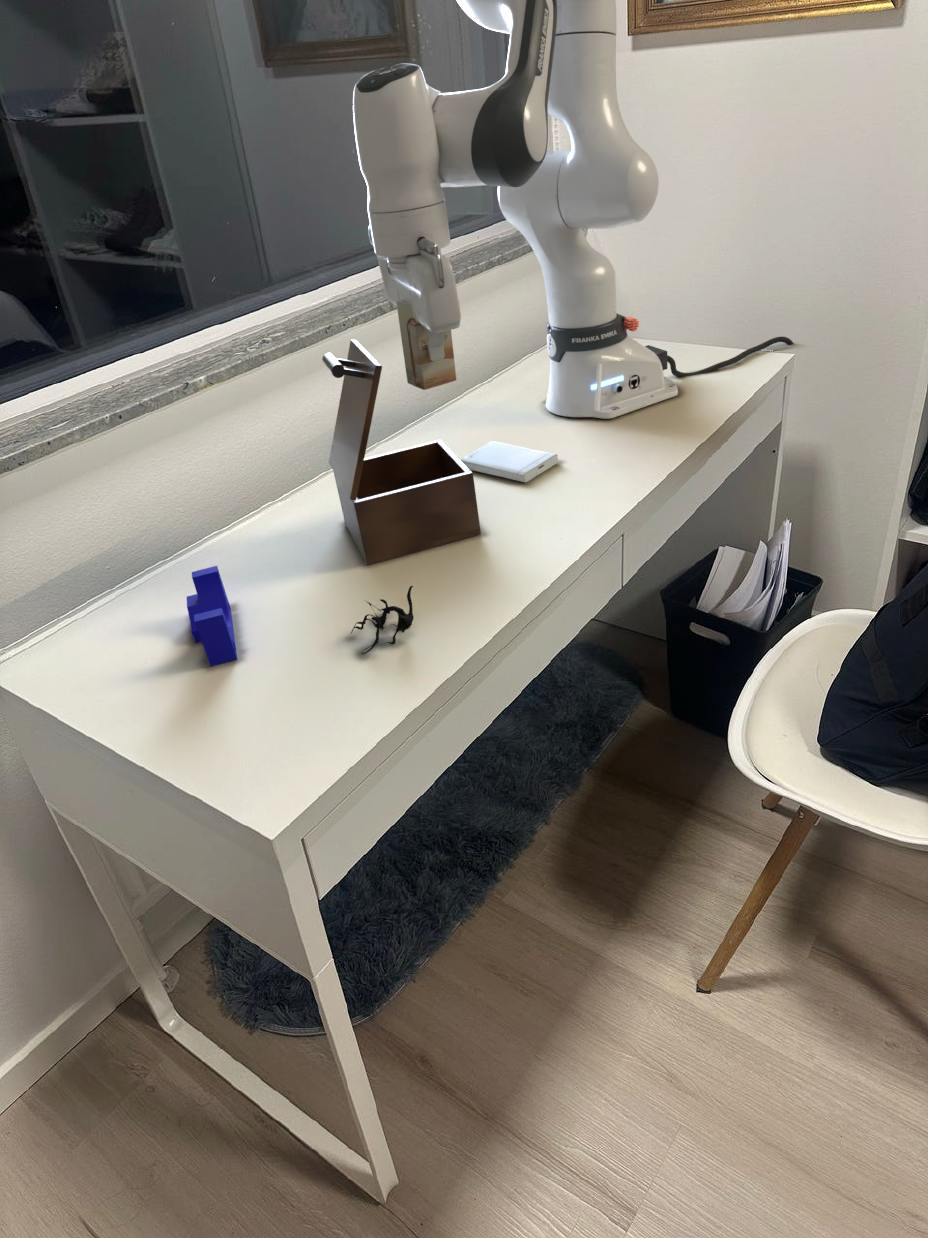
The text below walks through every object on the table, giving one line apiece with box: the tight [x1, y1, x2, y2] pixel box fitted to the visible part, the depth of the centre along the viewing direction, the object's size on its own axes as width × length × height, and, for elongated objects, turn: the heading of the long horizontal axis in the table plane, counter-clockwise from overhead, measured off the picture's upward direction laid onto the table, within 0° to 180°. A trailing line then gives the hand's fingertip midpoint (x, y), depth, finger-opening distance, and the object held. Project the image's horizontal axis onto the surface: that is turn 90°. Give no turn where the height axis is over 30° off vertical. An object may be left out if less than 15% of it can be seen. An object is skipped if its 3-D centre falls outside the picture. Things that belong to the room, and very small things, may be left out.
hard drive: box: [460, 440, 559, 483], centre depth 134 cm, size 2×8×12 cm
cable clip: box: [186, 565, 238, 667], centre depth 102 cm, size 12×4×6 cm, turn 16°
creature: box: [350, 585, 414, 655], centre depth 98 cm, size 8×5×8 cm
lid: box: [321, 339, 383, 500], centre depth 110 cm, size 16×14×5 cm
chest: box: [332, 439, 482, 566], centre depth 118 cm, size 16×14×9 cm
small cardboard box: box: [396, 300, 457, 391], centre depth 108 cm, size 5×4×10 cm
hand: (428, 353), depth 109 cm, fingers closed on small cardboard box, 5 cm apart
